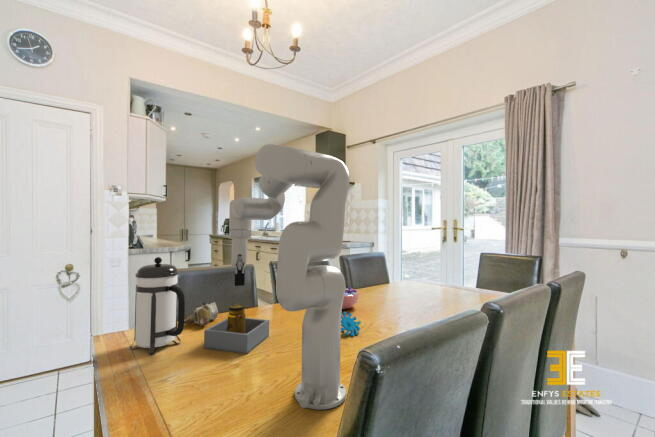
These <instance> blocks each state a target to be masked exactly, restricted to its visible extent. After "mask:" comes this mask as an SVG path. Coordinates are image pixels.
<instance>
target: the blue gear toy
mask: <svg viewBox="0 0 655 437" xmlns="http://www.w3.org/2000/svg"><path fill="white" fill-rule="evenodd" d="M352 316H353V314H352V313H351V312H349V313H348V312H347V311H343V313H342V312H341V332H342V333H343V332H344V331H346V332H344V334H345V335H346V336H347V337H348V336H349V335H350V337H355V335H356V336H357V335H358V334H359V331H360V330H361V326H360V325H361V324H362V321H361V320H359V321H357V316H356V315H355V316H353V317H352ZM350 332H351V333H350Z"/></svg>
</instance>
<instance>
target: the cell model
mask: <svg viewBox="0 0 655 437" xmlns="http://www.w3.org/2000/svg"><path fill="white" fill-rule="evenodd" d="M359 292H360V291H359V290H358V289H356V288H353V287H351V286H348V288H347V287H345V295H344V299H343V305H342V310H347V309H350V308H352V307H354V306H355V305H357V303H358V301H359V299H360V298H359V295H360V293H359Z"/></svg>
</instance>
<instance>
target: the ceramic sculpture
mask: <svg viewBox="0 0 655 437" xmlns="http://www.w3.org/2000/svg"><path fill="white" fill-rule="evenodd" d="M218 315H219V311H218V307H217V304H216V302H215V301H213V302H211V303H209V304H208V303H206V302H205V303H204V302H203V303H202V304H201V306H197V307H196V308H195V309H194V310H193V313H192V314H190V315H189V316H188V317H186V318H185V319H184V325H191V324H193V323H195V324H197V325H199V326H200V327H205V326H207V325H208V324H209V323H210V321H215V320H216V319H217V318H218Z"/></svg>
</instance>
